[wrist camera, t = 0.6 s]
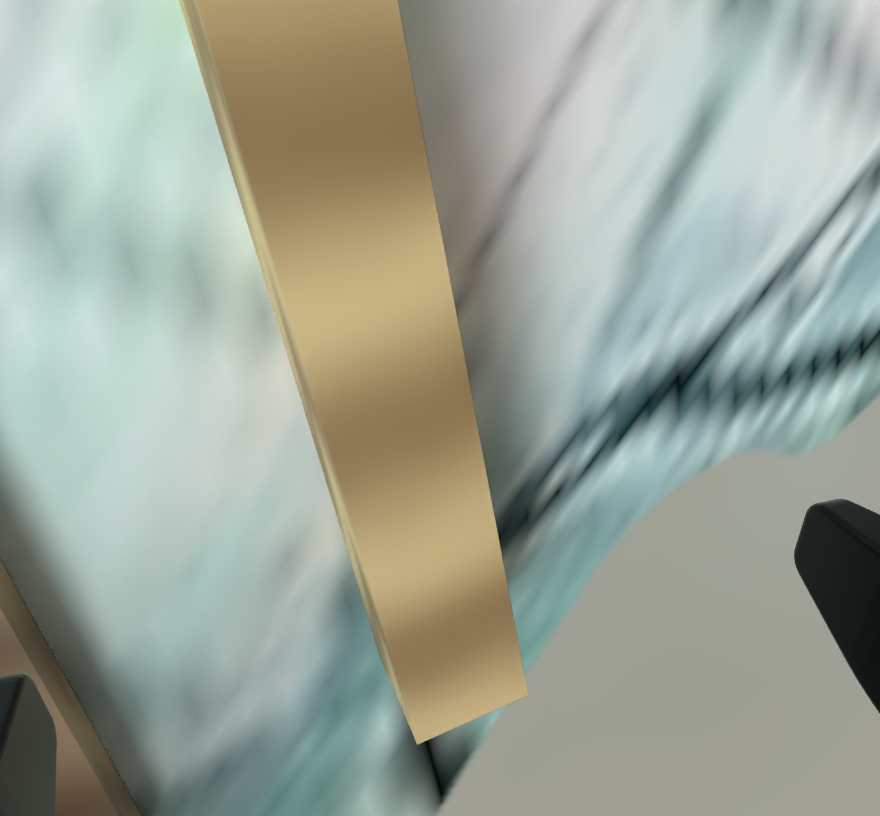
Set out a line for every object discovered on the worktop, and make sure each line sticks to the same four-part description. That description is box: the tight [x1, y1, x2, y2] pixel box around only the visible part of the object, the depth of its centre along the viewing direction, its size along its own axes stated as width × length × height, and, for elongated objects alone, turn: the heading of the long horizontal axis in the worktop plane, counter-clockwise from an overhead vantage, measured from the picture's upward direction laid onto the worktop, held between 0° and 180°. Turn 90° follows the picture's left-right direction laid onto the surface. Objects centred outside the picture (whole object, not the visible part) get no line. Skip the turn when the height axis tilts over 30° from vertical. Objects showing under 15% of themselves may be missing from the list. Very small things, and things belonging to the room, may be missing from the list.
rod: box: [179, 0, 528, 745], centre depth 20 cm, size 20×4×4 cm, turn 12°
